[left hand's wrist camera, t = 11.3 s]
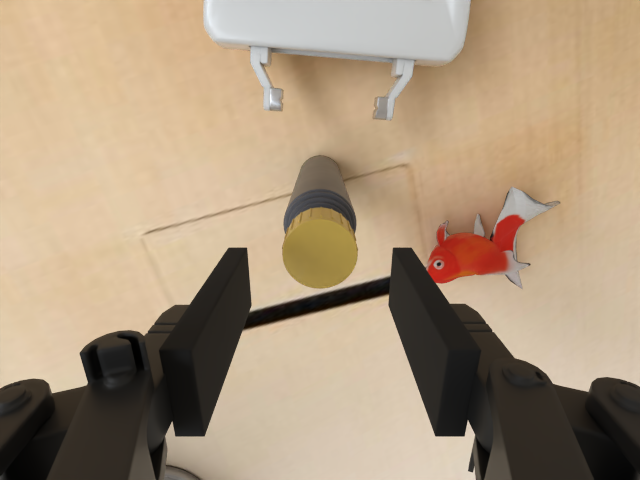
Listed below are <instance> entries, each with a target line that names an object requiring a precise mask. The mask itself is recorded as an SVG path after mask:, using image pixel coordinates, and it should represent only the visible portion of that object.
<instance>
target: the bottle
mask: <svg viewBox="0 0 640 480" xmlns="http://www.w3.org/2000/svg"><path fill="white" fill-rule="evenodd" d="M320 207H322V208H328V209H332V210H334V211H336V212H338V213H341V214H342V216H343V217H344V218H345V219H346V220H347V221H349V224H350V226H351V228H352V229H353V231H354V234H355V231H356V216H355V213H354V210H353V207H352V204H351V201H350V198H349V196H348V193H347V190H346V187H345V184H344V181H343V178H342V176H341V173H340V170H339V167H338V166H337V164H336V163H335V162H334V161H333V160H332V159H330V158H328V157H326V156H314V157H312V158H310V159H308V160H307V161H306V162H305V163H304V164H303V166H302V167H301V170H300V173H299V176H298V178H297V181H296V184H295V187H294V190H293V193H292V196H291V199H290V201H289V204H288V207H287V210H286V213H285V216H284V231H285V234H286V231H287V228H288V227H289V226H290V224H291V223H292V220H293V219H295V218H296V217H297V216H298V215H299V214H300V213H301V212H304V211H306V210H309V209H310V208H311V209H312V208H320Z"/></svg>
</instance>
